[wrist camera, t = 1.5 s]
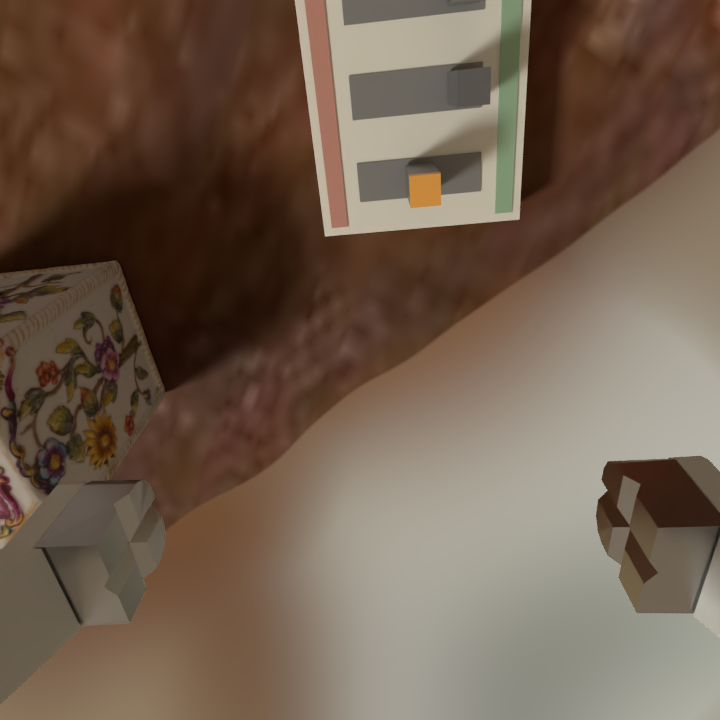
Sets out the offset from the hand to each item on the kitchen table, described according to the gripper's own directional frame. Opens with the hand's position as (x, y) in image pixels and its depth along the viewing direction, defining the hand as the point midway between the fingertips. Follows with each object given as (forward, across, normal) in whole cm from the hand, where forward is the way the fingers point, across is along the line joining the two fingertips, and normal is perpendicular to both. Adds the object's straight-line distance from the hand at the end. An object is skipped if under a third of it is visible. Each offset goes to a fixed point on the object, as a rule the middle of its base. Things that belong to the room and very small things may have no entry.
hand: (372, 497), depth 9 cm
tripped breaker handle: (+25, -3, -2) cm, 25 cm away
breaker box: (+28, -2, -7) cm, 28 cm away
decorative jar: (+28, +24, +8) cm, 38 cm away
